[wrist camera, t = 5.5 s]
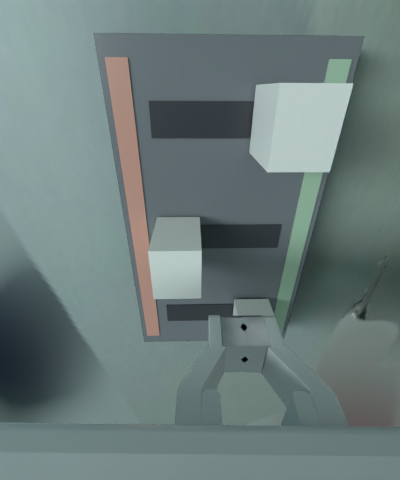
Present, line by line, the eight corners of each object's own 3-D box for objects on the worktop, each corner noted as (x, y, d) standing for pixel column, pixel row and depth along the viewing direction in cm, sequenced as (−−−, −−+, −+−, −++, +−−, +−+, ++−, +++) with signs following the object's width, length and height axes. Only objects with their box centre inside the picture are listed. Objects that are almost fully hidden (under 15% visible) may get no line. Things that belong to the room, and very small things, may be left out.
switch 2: (309, 85, 14) (353, 83, 10) (296, 152, 16) (329, 172, 12) (256, 84, 14) (280, 83, 10) (249, 152, 16) (267, 172, 12)
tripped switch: (199, 216, 18) (201, 250, 14) (199, 258, 20) (201, 298, 16) (157, 217, 18) (147, 251, 14) (161, 258, 20) (153, 299, 16)
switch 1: (268, 298, 22) (284, 341, 18) (262, 326, 24) (276, 371, 20) (234, 299, 22) (243, 342, 18) (231, 327, 24) (238, 372, 20)
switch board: (340, 43, 15) (365, 35, 13) (276, 319, 28) (284, 339, 25) (107, 41, 15) (92, 32, 13) (148, 321, 27) (144, 342, 25)
